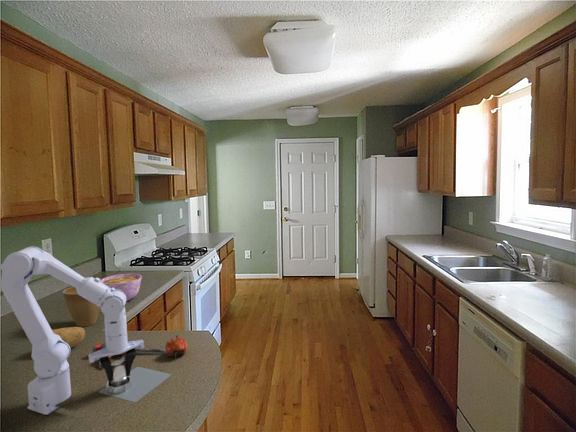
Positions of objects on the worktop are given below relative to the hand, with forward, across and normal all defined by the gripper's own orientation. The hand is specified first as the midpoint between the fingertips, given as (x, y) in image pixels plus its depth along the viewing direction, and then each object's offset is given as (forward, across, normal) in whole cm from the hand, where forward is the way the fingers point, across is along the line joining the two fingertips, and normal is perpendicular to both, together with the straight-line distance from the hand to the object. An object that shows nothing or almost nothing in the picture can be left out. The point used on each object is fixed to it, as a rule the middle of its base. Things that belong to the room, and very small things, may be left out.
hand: (118, 377), depth 103 cm
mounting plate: (+4, -4, +1) cm, 6 cm away
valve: (+5, -6, -19) cm, 21 cm away
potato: (+4, +9, -42) cm, 43 cm away
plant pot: (+4, -1, -64) cm, 64 cm away
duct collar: (+4, 0, 0) cm, 4 cm away
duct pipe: (+3, 0, 0) cm, 3 cm away
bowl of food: (+4, -22, -88) cm, 91 cm away
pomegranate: (+4, -21, -8) cm, 23 cm away
